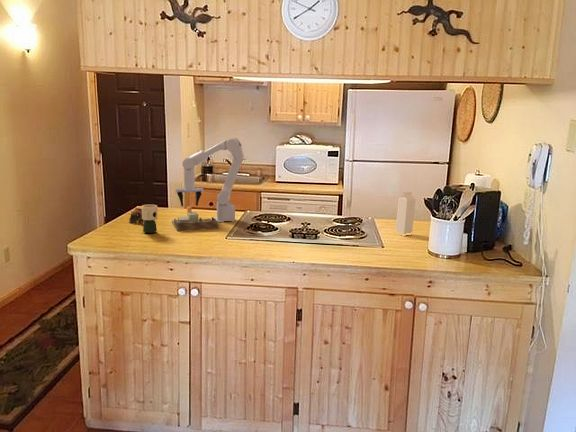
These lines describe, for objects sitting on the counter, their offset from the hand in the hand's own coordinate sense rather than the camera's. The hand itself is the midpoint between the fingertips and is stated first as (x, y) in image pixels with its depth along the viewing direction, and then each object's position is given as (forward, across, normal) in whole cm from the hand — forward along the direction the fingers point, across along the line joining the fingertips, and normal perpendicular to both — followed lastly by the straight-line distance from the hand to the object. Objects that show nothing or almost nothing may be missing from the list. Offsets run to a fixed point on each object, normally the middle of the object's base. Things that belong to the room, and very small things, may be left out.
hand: (189, 205), depth 267 cm
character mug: (+7, -23, -24) cm, 34 cm away
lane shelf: (+7, 0, -15) cm, 17 cm away
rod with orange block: (+6, 0, -6) cm, 8 cm away
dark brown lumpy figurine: (+7, -26, -2) cm, 27 cm away
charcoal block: (+7, -6, -19) cm, 21 cm away
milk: (+8, +99, -54) cm, 113 cm away
